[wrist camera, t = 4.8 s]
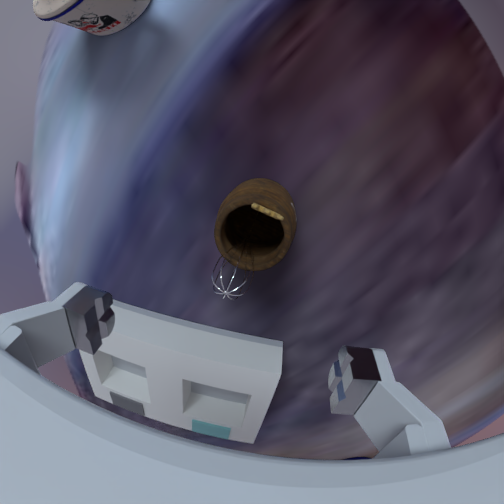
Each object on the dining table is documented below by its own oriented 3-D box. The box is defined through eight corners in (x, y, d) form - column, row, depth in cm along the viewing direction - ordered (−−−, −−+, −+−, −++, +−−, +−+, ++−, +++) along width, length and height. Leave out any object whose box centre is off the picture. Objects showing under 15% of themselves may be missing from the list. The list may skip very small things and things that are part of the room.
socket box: (282, 341, 30) (281, 376, 25) (257, 416, 36) (252, 445, 31) (91, 292, 31) (68, 315, 26) (109, 374, 37) (94, 397, 32)
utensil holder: (218, 226, 25) (168, 294, 14) (244, 162, 23) (206, 184, 12) (277, 252, 26) (269, 337, 15) (308, 190, 23) (328, 238, 12)
